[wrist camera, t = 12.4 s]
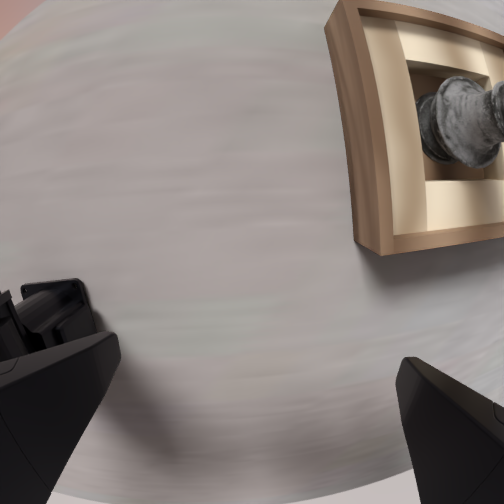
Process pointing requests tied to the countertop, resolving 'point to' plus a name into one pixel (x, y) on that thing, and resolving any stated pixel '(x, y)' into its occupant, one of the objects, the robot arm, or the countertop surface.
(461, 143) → the grey stone tall piece
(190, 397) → the countertop surface
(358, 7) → the walnut box
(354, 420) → the countertop surface
